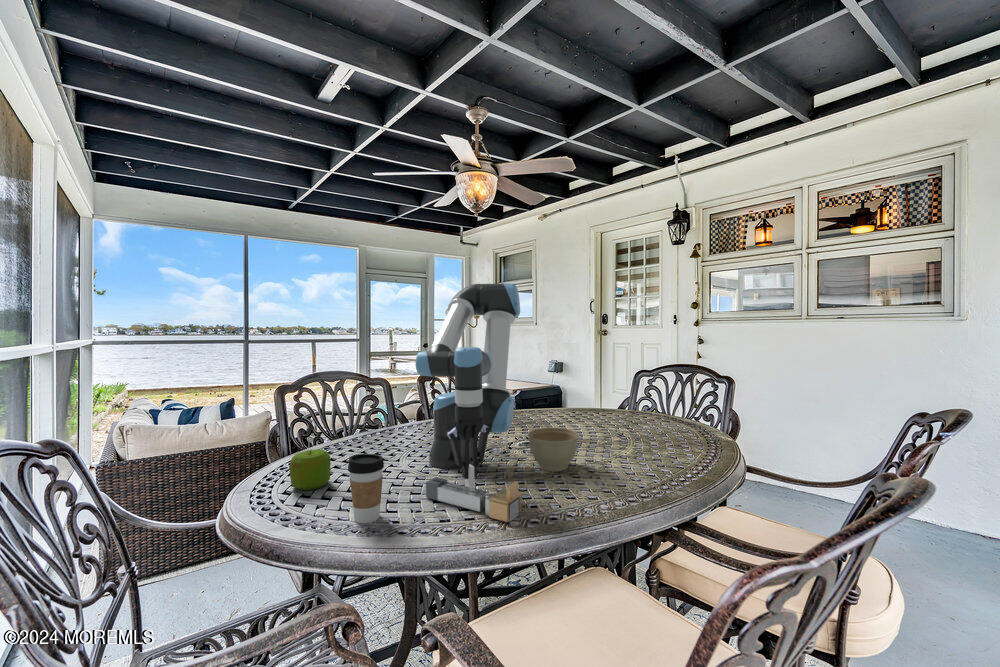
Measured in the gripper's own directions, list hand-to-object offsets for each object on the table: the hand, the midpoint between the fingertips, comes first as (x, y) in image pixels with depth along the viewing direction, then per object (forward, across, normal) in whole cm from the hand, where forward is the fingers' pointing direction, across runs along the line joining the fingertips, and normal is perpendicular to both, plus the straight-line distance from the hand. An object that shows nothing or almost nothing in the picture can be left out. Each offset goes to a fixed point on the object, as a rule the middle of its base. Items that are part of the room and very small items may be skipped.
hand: (469, 489), depth 122 cm
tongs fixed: (+1, +4, +7) cm, 8 cm away
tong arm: (+1, +5, +3) cm, 5 cm away
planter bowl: (+2, -33, -5) cm, 33 cm away
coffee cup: (+2, +28, 0) cm, 28 cm away
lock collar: (+1, -1, +16) cm, 17 cm away
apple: (+2, +36, -30) cm, 47 cm away
